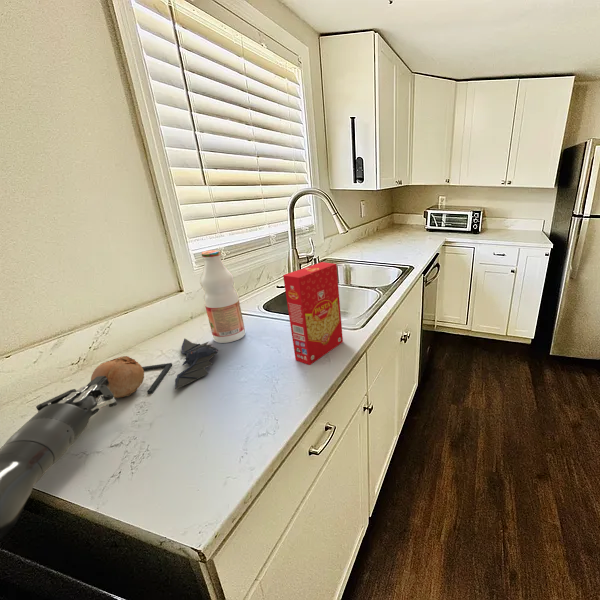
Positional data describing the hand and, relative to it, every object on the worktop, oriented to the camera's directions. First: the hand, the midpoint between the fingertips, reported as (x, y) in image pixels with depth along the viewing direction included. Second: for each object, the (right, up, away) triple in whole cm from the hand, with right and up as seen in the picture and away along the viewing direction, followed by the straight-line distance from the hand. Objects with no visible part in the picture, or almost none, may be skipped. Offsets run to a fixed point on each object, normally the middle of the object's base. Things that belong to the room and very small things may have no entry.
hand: (102, 379), depth 72 cm
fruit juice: (+10, +5, +34) cm, 36 cm away
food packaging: (+42, +2, +25) cm, 49 cm away
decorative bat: (+9, 0, +20) cm, 22 cm away
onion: (-1, -5, +6) cm, 8 cm away
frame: (-2, -4, +10) cm, 11 cm away
